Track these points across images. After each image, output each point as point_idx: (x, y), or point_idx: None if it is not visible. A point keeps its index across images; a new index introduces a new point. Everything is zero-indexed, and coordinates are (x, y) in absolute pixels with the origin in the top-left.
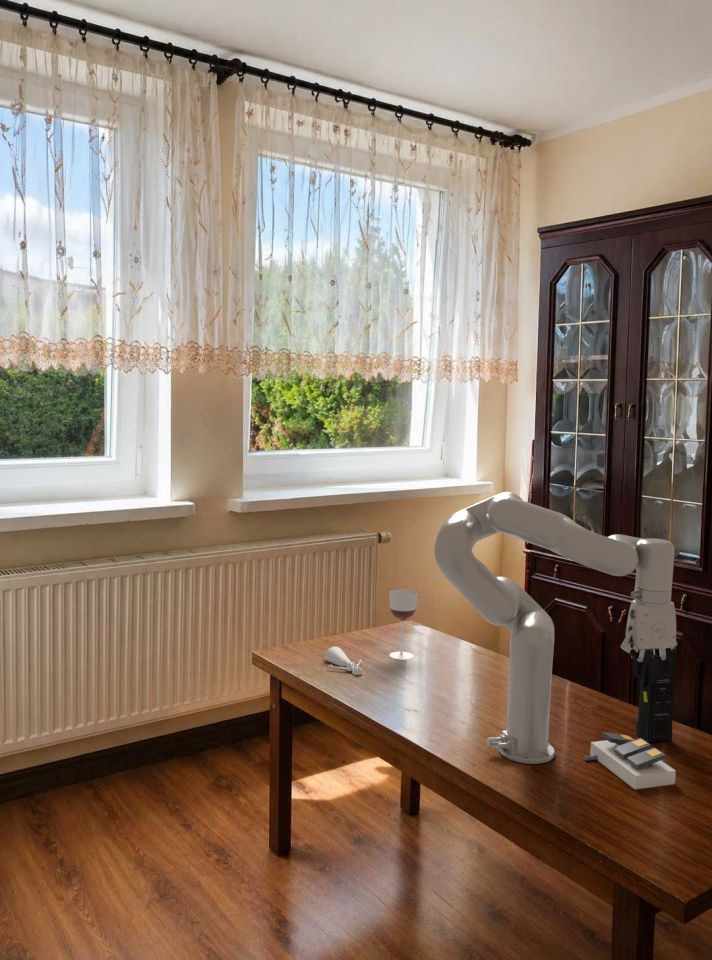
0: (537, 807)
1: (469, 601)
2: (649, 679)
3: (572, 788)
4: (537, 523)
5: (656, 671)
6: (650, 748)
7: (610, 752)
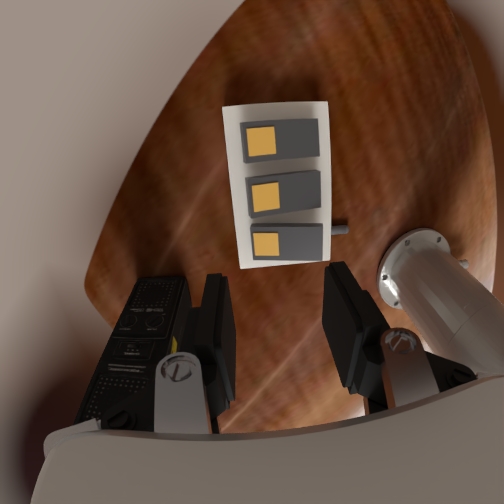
0: (477, 110)
1: None
2: None
3: (418, 139)
4: None
5: (228, 309)
6: (246, 177)
7: (319, 210)
